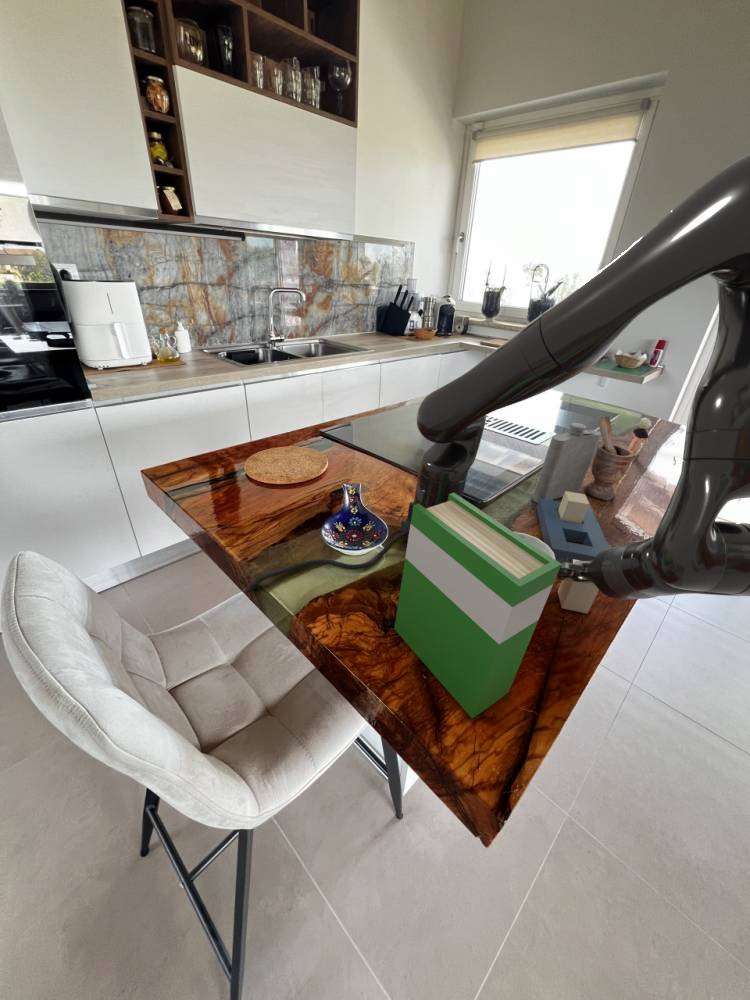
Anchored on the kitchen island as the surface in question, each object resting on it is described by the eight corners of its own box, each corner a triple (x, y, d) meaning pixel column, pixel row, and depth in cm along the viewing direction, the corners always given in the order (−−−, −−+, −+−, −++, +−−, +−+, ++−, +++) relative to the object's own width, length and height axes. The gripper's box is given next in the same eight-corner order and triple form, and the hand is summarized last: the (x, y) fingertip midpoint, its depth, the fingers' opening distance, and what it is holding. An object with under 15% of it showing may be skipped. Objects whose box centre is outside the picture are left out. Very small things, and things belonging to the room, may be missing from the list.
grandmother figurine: (618, 449, 143) (633, 414, 136) (626, 448, 144) (642, 414, 138) (636, 459, 137) (652, 423, 130) (644, 458, 138) (661, 422, 131)
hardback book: (394, 628, 67) (413, 505, 55) (428, 611, 71) (453, 492, 59) (472, 718, 55) (519, 586, 43) (508, 692, 59) (561, 564, 47)
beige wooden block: (557, 529, 97) (568, 500, 93) (554, 519, 101) (565, 490, 96) (577, 533, 96) (589, 504, 92) (573, 522, 100) (585, 494, 96)
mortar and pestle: (565, 486, 116) (591, 419, 105) (578, 478, 121) (603, 412, 111) (608, 504, 109) (639, 433, 99) (619, 494, 114) (650, 426, 104)
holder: (547, 559, 87) (552, 548, 85) (536, 508, 104) (539, 497, 103) (609, 571, 85) (615, 560, 83) (587, 517, 103) (591, 507, 101)
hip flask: (539, 504, 106) (563, 431, 96) (527, 496, 109) (550, 425, 98) (580, 493, 113) (607, 424, 102) (568, 486, 116) (594, 419, 105)
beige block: (587, 613, 74) (603, 580, 70) (561, 608, 75) (576, 574, 70) (582, 596, 78) (597, 563, 74) (557, 591, 78) (571, 558, 74)
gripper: (689, 554, 56) (630, 565, 72) (580, 534, 58) (545, 549, 74) (687, 610, 55) (627, 609, 70) (575, 587, 57) (540, 591, 72)
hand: (585, 578), depth 72 cm, fingers open, 8 cm apart
